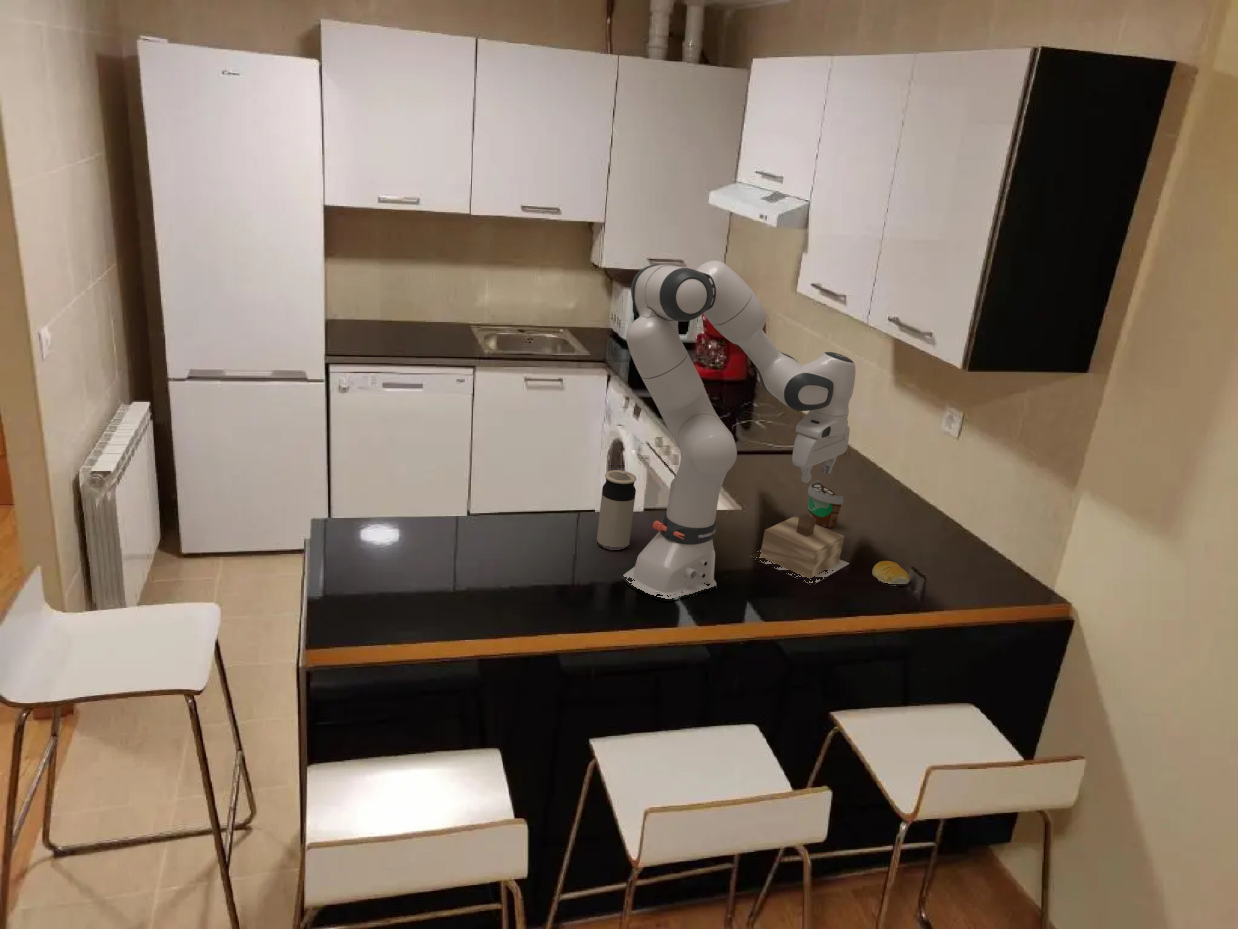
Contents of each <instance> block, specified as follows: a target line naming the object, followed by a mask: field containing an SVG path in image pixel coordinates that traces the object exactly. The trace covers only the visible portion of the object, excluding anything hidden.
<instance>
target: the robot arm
mask: <svg viewBox="0 0 1238 929" xmlns="http://www.w3.org/2000/svg"><path fill="white" fill-rule="evenodd" d="M630 295H631V300H632V313H633V315H634V316H635V317H636V319H635V320H633V321H632V323H630V325H629V326H628V328H627V330H626V333H625V339H626V343H627V346H628V350H629V353H630V355H631V356H630V357H631V358H632V361H633V363H634V365H635V368H636V370H637V372H638V374H639V375H640V378H641V380H642V381H643V383H644V385H645V387H646V389H647V390H648V392H649V394H650V396H651V398H652V400H653V402H654V404H655V405H656V408H657V409H658V412H659V414H660V415H661V418H662V419H663V421H664V423H665V426H666V428H667V429H668V431H669V433H670V435H671V437H672V438H673V441H674V443H675V444H676V445H677V447H678V448H679V451H680V461H679V467H678V468H677V471H676V474H675V476H674V478H673V479H672V480H671V481H670V482H671V483H670V486H669V493H668V494H669V495H668V502H667V507H666V512H665V513H664V515H663V518H662V520H661V521H659V520H655V521H654V522H653V523H652V524H653V525H652V528H653V530H656V531H658V533H656V535H655V536H654V537H653V538H652V539H651V540H650V541H649V542H648V544H647V545H646V546H645V547H644V548H643V549H642V551H641V552H640V553H639V554H638V555H637V559H636V561H635V565H634V566H633V567H632V568H631V569H629V570H628V571H626V572H625V573H623V576H624V577H627V579H628V578H629V577H630V578H632V580H633V579H634V580H635V581H634V580H633V581H632V582H630V581H628V580H627V579H626V580H627V581H628V582H629V583H632V584H631V585H633V586H634V587H636V588H637V589H640V590H642V591H644V592H645V593H648V594H650V595H654V596H656V595H657V594H660V595H663V596H657V597H661V598H665V599H672V598H676V597H677V598H678V597H679V596H680V597H681V596H684V595H689V594H693V593H695V592H698V591H701V590H704V589H709V588H711V587H714V586H716V587H717V582H716V580H715V566H716V565H715V564H716V551H715V547H714V541H713V539H714V538H715V536H716V535H715V534H716V530H717V520H716V517H717V516H716V515H717V510H718V504H719V499H720V498H719V497H720V493H721V490H722V486H723V483H724V480H725V478H726V476H727V473H728V472H729V471H730V469H732V468H733V466H734V464H735V463H736V461H737V456H738V451H737V450H738V449H737V444H736V440H735V439H734V435H733V434H732V432H731V431H730V430H729V428H728V427H727V426H726V425H725V423H724V422H723V421H722V420H721V419H720V416H719V415H718V414H717V413H716V410H715V409H714V407H713V404H712V402H711V400H710V398H709V395H708V394H707V391H706V388H705V386H704V385H705V384H704V383H703V380H702V378H701V376H700V373H699V372H698V370H697V369H696V368H697V367H696V366H695V364H694V362H693V361H692V359H691V357H690V355H689V353H688V350H687V349H686V346H685V345H684V343H683V342H682V340H681V337H680V334H679V322H689V321H693V320H696V319H698V318H699V317H701V316H702V315H704V316H705V318H706V319H707V320H708V322H709V323H710V325H712V326H713V328H714V329H715V330H716V331H717V332H718V333H719V334H720V335H721V336H723V337H724V338H725V339H726V340H728V341H729V342H731V343H732V344H734V345H737V346H739V347H740V349H741V350H742V351H743V353H744V354H745V355H746V356H747V357H748V359H749V360H750V361H751V362H752V364H753V365H754V366H755V369H756V371H757V374H758V379H759V382H760V384H761V387H762V388H763V390H764V391H765V392H766V393H767V394H768V395H771V396H773V397H774V398H776V399H777V400H779V402H781V403H782V404H784V405H785V406H786V407H788V408H789V409H791V410H794V411H797V412H806V411H808V412H807V413H806V414H805V416H804V417H803V418H802V419H801V420H800V421H799V422H797V424H796V426H795V432H797V435H796V436H795V439H794V443H793V448H792V449H793V450H792V457H791V460H792V461H791V462H792V464H793V466H795V467H797V468H800V471H801V482H803V483H805V484H808V483H809V482H811V481H812V478H813V475H812V474H811V470H812V469H813V467H814V466H816V465H819V464H821V463H823V462H824V465H822V468H821V473H823V474H825V475H829V474H831V472H832V469H833V467H834V465H835V462H837V457H839V456H841V455H844V454H846V452H847V450H848V447H849V440H850V429H851V428H850V426H849V420H848V419H849V418H848V417H849V414H850V410H849V404H850V400H851V399H852V396H853V393H854V388H855V380H856V364H855V362H854V360H852V359H851V358H849V357H847V356H845V355H843V354H841V353H837V352H832V351H825V352H823V353H822V354H821V355H820V356H819V357H817V358H816V359H814V360H812V361H810V362H808V363H804V364H802V363H800V362H799V361H798V360H797V359H796V358H794V357H793V356H791V355H789V354H786V353H785V352H782V351H780V350H779V349H778V348H777V347H776V346H775V344H774V343H773V342H772V341H771V339H770V338H769V337H768V334H766V333H765V332H764V330H763V329H764V327H765V325H766V321H767V312H766V310H765V308H764V306H763V304H762V303H761V300H760V299H759V298H758V296H757V295H756V293H755V292H754V291H753V290H752V289H751V287H750V286H749V284H748V283H746V282H745V281H744V280H743V278H741V277H740V275H739V274H738V273H736V271H734V270H733V269H732V268H731V267H730V266H729V265H727V264H726V263H725V262H723V261H720V260H717V259H715V260H708V261H705V262H704V263H702V264H701V265H698V267H697V268H696V269H694V268H689V267H682V266H678V265H675V264H651V265H647V266H645V267H643V268H642V269H640V270H638V272H637V273H636V274H635V276H633V279H632V281H631V286H630ZM623 576H622V577H623ZM704 583H705V584H704ZM706 584H710V585H709V586H707V585H706ZM667 595H668V596H669V597H668V596H667ZM670 595H671V596H670Z"/></svg>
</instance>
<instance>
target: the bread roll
mask: <svg viewBox="0 0 1238 929" xmlns="http://www.w3.org/2000/svg"><path fill="white" fill-rule="evenodd" d="M871 572H872V573H871V574H872V576H873V577H874V578H875V577H876V578H877V579H878V581H879V582H880V581H881V583H882V582H883V583H882V584H884V583H888V584H907V585H908V583H909V582H910V580H911V578H910V577H911V576H910V575H909V572H907V571H906V570H905V569H904V568H902V567H901V565H899V563H897V562H894V561H891V560H882V561H878V562H877V563H875V565H874V566H873V568H872V571H871ZM876 578H875V579H876ZM877 579H876V580H877Z"/></svg>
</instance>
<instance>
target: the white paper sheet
mask: <svg viewBox="0 0 1238 929" xmlns="http://www.w3.org/2000/svg"><path fill="white" fill-rule="evenodd" d="M759 551H760V552H761V549H760V550H759ZM759 551H757V552H759ZM756 558H757V557H756ZM759 558H761V557H759ZM760 561H761V560H760ZM760 561H759V562H760ZM764 562H765V561H764ZM764 562H762V561H761V562H760V563H763V564H765V565H767V564H772V563H771V562H769V561H767V562H765V563H764ZM773 564H775V563H773ZM849 564H850V563H849V562H848V561H845V560H842V559H840V558H839V563H837V564H835V565H833V566H832V567H830V568H828V569H826V570H828V571H827V572H828V573H827V572H825V571H824V572H822V573H820V574H818V575H816V576H815V577H823V579H822V580H824V579H825V578H824V577H826V578H828V577H829V576H830V575H832V574H834V573H836V572H837V571H839V570H841V569H843V568H844V567H846V566H848V565H849ZM774 569H775V570H778V571H780V570H788V569H786V568H784V567H782V568H781V567H779V568H778V567H777V568H775V567H774ZM832 570H833V571H832ZM825 573H826V574H825ZM792 574H793V573H792ZM792 574H789V573H788V574H787V575H789V576H791V577H793V576H792ZM794 575H795V574H794ZM798 576H799V575H798ZM798 576H796V577H798ZM796 577H795V578H796ZM799 577H801V576H799ZM802 577H804V576H802ZM810 580H811V579H810ZM804 581H805V580H804ZM804 581H803V582H804ZM815 582H816V583H817V584H818V582H821V580H820V579H819V580H817V579H816V581H815ZM804 583H807V584H809V583H813V581H812V582H810V581H809V583H808V582H806V581H805V582H804ZM816 583H815V584H816Z"/></svg>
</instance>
